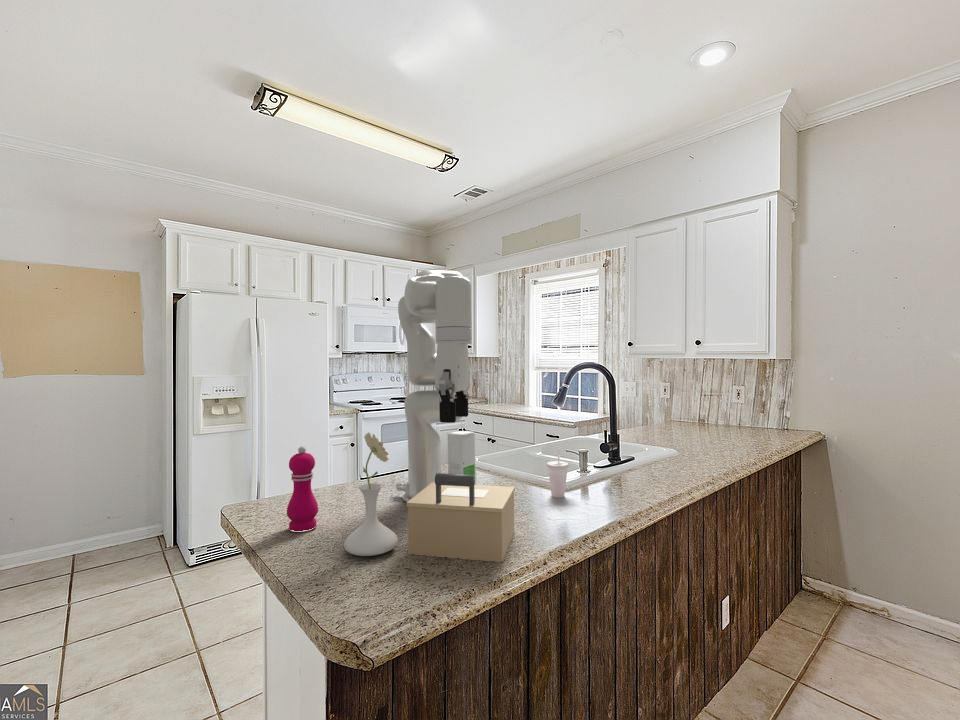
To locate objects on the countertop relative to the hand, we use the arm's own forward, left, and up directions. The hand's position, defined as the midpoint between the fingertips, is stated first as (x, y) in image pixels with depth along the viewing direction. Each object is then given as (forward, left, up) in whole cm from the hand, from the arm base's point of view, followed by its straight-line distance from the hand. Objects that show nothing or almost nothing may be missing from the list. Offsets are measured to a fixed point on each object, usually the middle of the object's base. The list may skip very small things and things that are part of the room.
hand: (454, 419), depth 98 cm
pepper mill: (-41, +8, -29) cm, 51 cm away
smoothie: (+18, +47, -29) cm, 58 cm away
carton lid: (0, +7, -18) cm, 19 cm away
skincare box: (-16, +63, -29) cm, 71 cm away
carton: (0, +7, -28) cm, 29 cm away
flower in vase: (-19, 0, -29) cm, 34 cm away
